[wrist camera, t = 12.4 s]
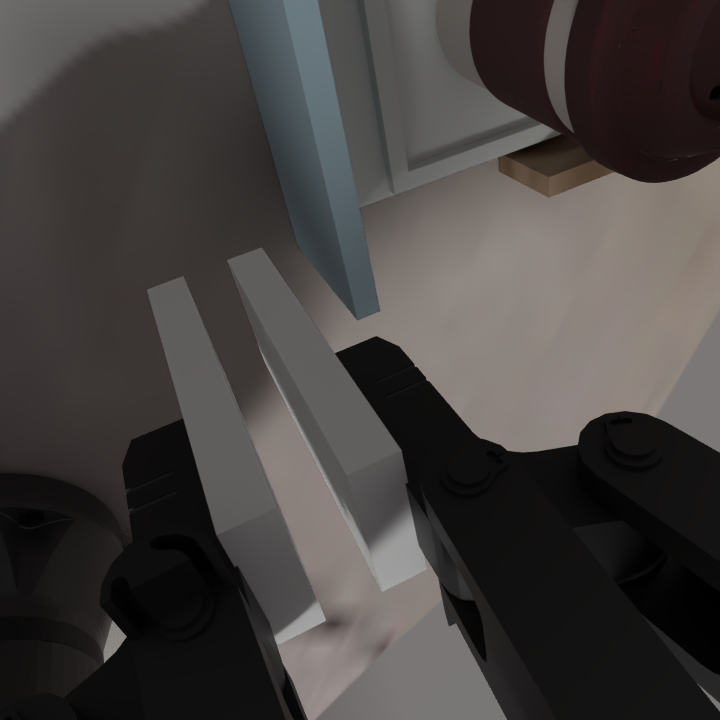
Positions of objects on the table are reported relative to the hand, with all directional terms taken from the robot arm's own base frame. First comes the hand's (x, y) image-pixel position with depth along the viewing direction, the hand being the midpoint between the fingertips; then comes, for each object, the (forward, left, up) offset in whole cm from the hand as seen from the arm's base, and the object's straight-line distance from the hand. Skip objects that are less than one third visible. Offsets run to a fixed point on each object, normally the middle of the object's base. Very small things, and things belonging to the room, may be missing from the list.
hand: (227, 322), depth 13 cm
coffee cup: (+19, 0, -19) cm, 27 cm away
